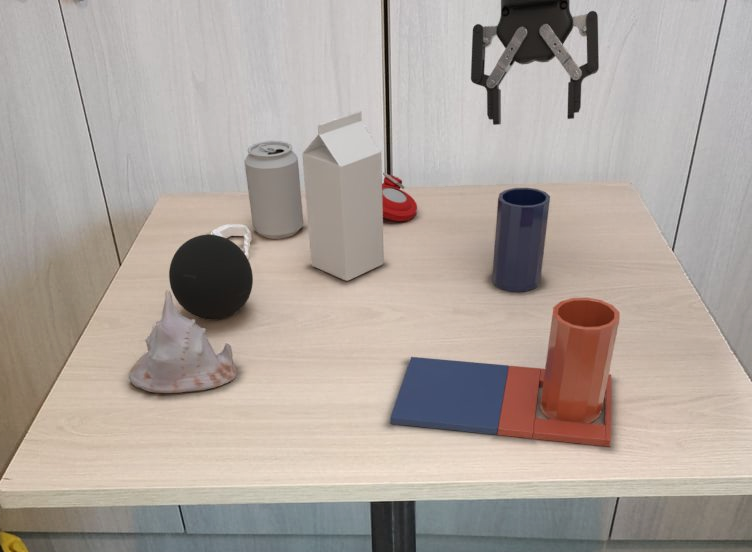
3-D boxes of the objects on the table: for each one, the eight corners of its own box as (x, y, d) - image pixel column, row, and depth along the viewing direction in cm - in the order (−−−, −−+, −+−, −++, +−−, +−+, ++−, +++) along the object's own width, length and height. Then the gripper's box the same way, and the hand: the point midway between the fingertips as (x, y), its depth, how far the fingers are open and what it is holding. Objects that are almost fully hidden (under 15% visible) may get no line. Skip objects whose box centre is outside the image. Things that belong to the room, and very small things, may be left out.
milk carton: (384, 264, 111) (381, 116, 98) (346, 282, 107) (338, 131, 95) (348, 250, 115) (341, 105, 102) (311, 266, 111) (298, 119, 98)
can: (284, 244, 117) (275, 159, 109) (243, 234, 120) (231, 150, 112) (313, 225, 121) (307, 142, 113) (273, 216, 124) (264, 134, 116)
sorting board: (609, 380, 88) (611, 374, 88) (609, 446, 79) (611, 440, 79) (411, 362, 92) (411, 356, 92) (390, 424, 83) (390, 417, 83)
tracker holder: (429, 211, 121) (368, 206, 117) (419, 237, 124) (360, 233, 120) (404, 166, 127) (345, 160, 124) (395, 192, 131) (338, 186, 127)
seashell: (146, 347, 96) (128, 274, 90) (245, 348, 96) (234, 273, 89) (122, 395, 89) (100, 318, 83) (229, 396, 88) (216, 319, 82)
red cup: (601, 394, 86) (619, 299, 79) (600, 429, 82) (619, 332, 74) (542, 388, 87) (554, 294, 80) (538, 422, 83) (551, 326, 75)
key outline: (268, 263, 112) (266, 251, 111) (233, 270, 111) (231, 258, 110) (241, 228, 121) (240, 217, 120) (209, 235, 120) (207, 223, 119)
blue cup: (541, 271, 108) (551, 188, 100) (538, 293, 103) (548, 208, 96) (494, 268, 109) (501, 186, 102) (489, 290, 104) (496, 205, 97)
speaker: (181, 340, 97) (165, 262, 91) (174, 303, 105) (158, 227, 98) (263, 327, 99) (253, 249, 92) (250, 291, 106) (240, 216, 100)
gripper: (465, -41, 87) (468, 126, 93) (603, -60, 83) (596, 115, 90) (475, -28, 94) (477, 127, 100) (603, -45, 90) (597, 117, 96)
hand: (533, 121), depth 95 cm, fingers open, 8 cm apart
